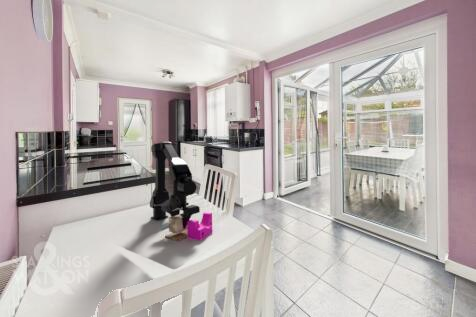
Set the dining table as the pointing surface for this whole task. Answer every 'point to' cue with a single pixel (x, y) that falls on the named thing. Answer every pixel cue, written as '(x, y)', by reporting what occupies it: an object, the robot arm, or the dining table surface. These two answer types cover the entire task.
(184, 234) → the board
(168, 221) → the channel
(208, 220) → the toy block
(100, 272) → the dining table surface
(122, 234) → the dining table surface
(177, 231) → the block
